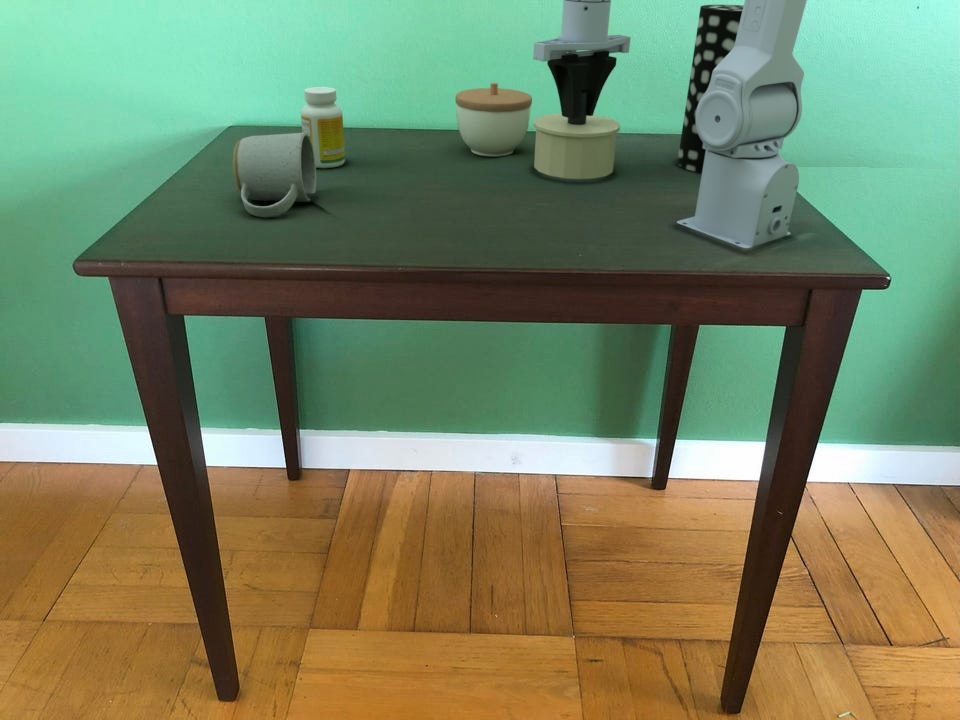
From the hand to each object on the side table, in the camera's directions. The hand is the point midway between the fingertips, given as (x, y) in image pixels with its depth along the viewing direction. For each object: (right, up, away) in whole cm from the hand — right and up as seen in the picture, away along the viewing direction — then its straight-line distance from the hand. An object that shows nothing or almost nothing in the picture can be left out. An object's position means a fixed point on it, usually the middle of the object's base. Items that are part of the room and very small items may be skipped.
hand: (577, 115), depth 99 cm
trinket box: (-11, -2, +12) cm, 16 cm away
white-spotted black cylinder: (+19, -5, +8) cm, 21 cm away
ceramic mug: (-36, -14, -10) cm, 40 cm away
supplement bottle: (-34, -5, +5) cm, 34 cm away
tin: (0, -6, +4) cm, 7 cm away
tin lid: (0, -1, +1) cm, 1 cm away
